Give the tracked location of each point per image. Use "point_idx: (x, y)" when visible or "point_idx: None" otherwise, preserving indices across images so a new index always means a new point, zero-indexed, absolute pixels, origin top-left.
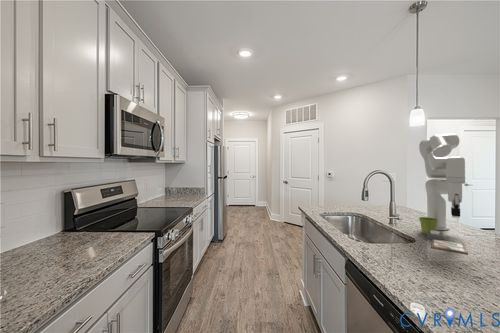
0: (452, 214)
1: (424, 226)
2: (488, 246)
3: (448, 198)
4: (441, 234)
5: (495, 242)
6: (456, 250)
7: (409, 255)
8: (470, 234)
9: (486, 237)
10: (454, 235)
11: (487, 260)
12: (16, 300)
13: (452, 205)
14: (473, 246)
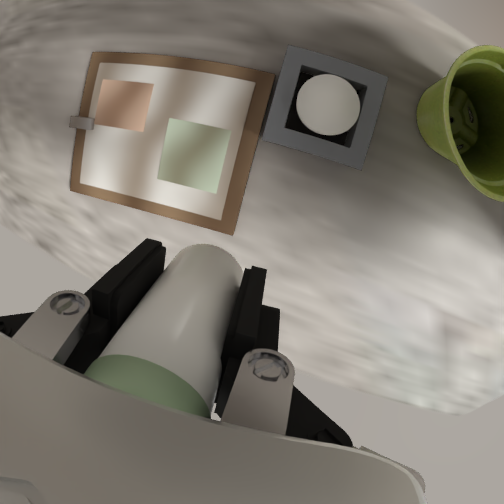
0: (141, 247)
1: (443, 78)
2: None
3: (1, 427)
4: (309, 142)
5: (340, 385)
6: (82, 152)
7: (8, 2)
8: (458, 344)
9: (415, 383)
10: (434, 263)
11: (46, 234)
12: None
13: (119, 347)
14: None
